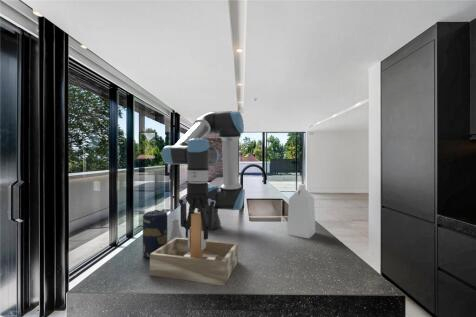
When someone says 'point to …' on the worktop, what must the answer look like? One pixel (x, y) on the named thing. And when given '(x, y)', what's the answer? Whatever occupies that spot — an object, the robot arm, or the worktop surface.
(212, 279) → the open box
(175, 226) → the flask
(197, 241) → the peg
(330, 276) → the worktop surface
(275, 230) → the worktop surface
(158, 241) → the canister
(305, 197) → the milk
